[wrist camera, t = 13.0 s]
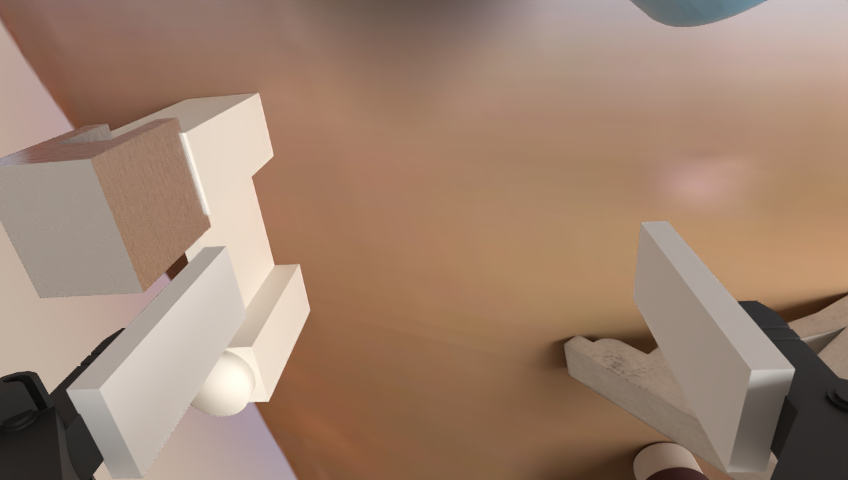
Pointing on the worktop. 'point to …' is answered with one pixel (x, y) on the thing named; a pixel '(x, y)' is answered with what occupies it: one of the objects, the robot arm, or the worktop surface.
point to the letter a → (663, 396)
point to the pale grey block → (102, 208)
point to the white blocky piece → (239, 246)
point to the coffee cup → (666, 463)
